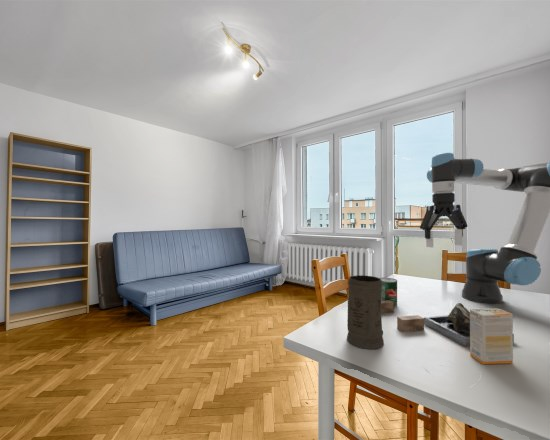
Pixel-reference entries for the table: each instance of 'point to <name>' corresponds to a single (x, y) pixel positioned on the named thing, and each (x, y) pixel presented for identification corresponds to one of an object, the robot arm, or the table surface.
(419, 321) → the cradle
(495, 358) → the supplement box
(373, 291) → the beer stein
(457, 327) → the fossil
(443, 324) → the dish
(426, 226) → the robot arm
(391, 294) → the canned tomato
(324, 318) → the table surface
